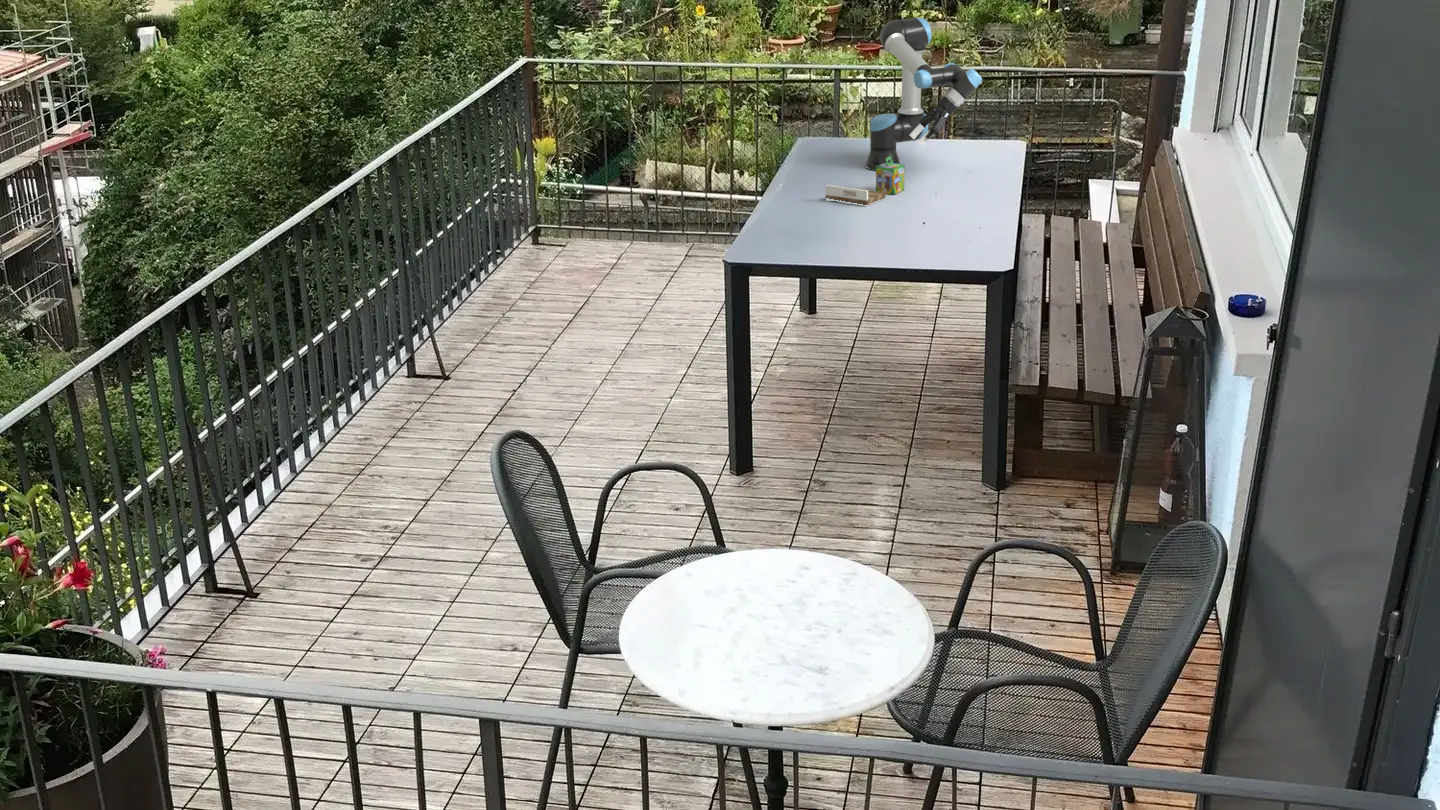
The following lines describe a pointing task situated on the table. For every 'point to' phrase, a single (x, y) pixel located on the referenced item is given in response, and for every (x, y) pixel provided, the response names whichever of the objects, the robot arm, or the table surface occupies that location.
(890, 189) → the chalk box
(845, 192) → the shelf board
